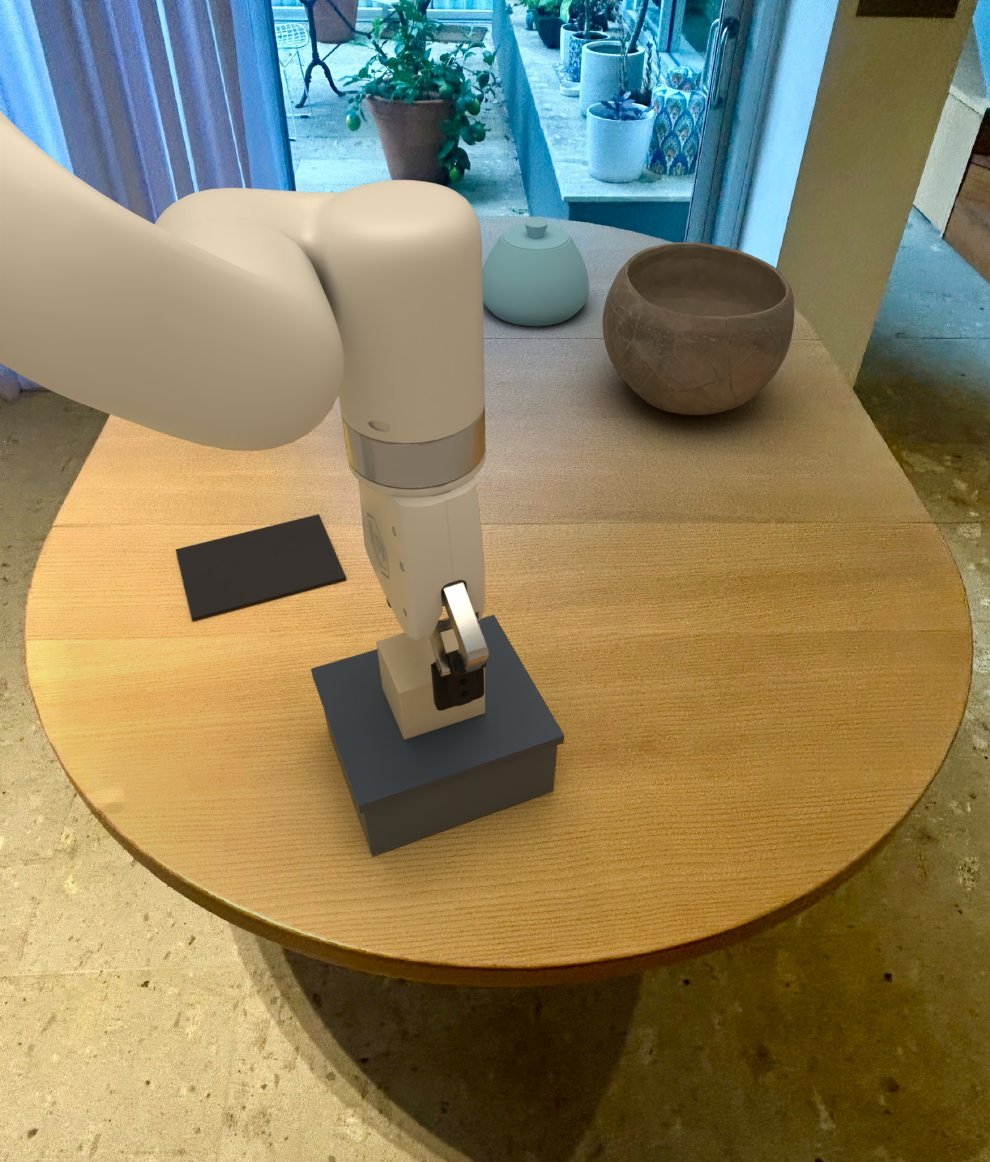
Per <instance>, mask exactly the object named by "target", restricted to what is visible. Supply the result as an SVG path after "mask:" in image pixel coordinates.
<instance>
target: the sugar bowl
mask: <svg viewBox="0 0 990 1162" xmlns="http://www.w3.org/2000/svg"><path fill="white" fill-rule="evenodd" d="M482 279H483V305H485V307H486V308H487V310H488V311H490V312H491V313H492V315H494V316H495V317H496V318H498V319H500V320H502V321H504V322H507V323H509V324H513V325H517V326H526V327H544V326H546V327H547V326H552V325H557V324H560V323H563V322H566V321H568V320H570V319H571V318H572V317H574V316H575V315H576V314H577V313H578V312H579V311H580V310H581V309H582V308H583V307H584V306H585V304H586V303H587V301H588V298H589V296H590V282H589V281H590V280H589V275H588V270H587V267H586V263H585V261H584V258H583V256H582V254H581V252H580V250H579V248H578V246H577V245H576V243H575V241H574V239H573V238H572V236H571V235H570V234H569V233H568V231H566V230H565V229H563V228H562V227H559V226H557V225H553V224H549V222H548V220H547V219H544V218H541V217H532V218H528V219H526V220H525V221H524V223H519V224H516V225H513V226H511V227H508V228H507V229H505V230H504V231H503V232H502V234H501V235H500V236H499V238H498V239H497V240H496V242H495V244H494V245H493V247H492V248H491V250H490V251H489V253H488V255H487V257H486V259H485V261H484V263H483V265H482Z"/></svg>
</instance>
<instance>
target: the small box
mask: <svg viewBox="0 0 990 1162" xmlns="http://www.w3.org/2000/svg"><path fill="white" fill-rule="evenodd" d="M441 636H442V639H443V643H444V647H445V650H446V653H449V652H452V651H455V650H458V642H457V639H456V636H455V633H454V630H453V629H451V630H447V631H444V632H441ZM376 649H377V650H378V658H379V665H380V673H381V681H382V688H383V691H384V693H385V695H386V698H387V700H388V703H389V705H390V707H391V710H392V712H393V715H394V717H395V719H396V722H397V724H398V726H399V729H400V731H401V734H402V736H403V738H404V740H405V739H408V738H411V737H414V736H418V735H421V734H424V733H427V732H430V731H433V730H436V729H439V728H442V727H445V726H448V725H451V724H454V723H457V722H460V721H463V720H466V719H469V718H472V717H476V716H479V715H482V714H484V713H485V667H484V695H483V696H482V697H481V698H479V699H476V700H473V701H471V702H470V703H468V704H465V705H461V706H455V707H452V708H449V709H446V710H442V711H439V710H437V708H436V706H435V704H434V697H433V686H432V674H431V664H433V663H434V662H436V661H435V657H434V654H433V650H432V646H431V643H430V639H429V637H428V638H424V639H420V640H417V641H416V640H413V639H411V638H410V637H408V636H407V635H406V634H405V633H404V632H402V633H399V634H396V635H393V636H389V637H386V638H381V639H379V640H377V641H376Z"/></svg>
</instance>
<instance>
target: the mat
mask: <svg viewBox="0 0 990 1162" xmlns="http://www.w3.org/2000/svg"><path fill="white" fill-rule="evenodd" d="M175 553H176V557H177V561H178V566H179V571H180V574H181V578H182V582H183V583H182V584H183V588H184V591H185V595H186V601H187V605H188V608H189V613H190V617H191V621H192V622H196V621H199V620H203V619H206V618H210V617H214V616H218V615H221V614H225V613H229V612H232V611H233V612H234V611H236V610H240V609H243V608H247V607H251V606H254V605H255V606H256V605H259V604H262V603H266V602H269V601H273V600H276V599H281V598H284V597H288V596H292V595H295V594H300V593H304V592H307V591H310V590H315V589H317V588H321V587H322V588H323V587H325V586H329V585H333V584H336V583H340V582H344V581H346V580H347V576H346V574H345V571H344V568H343V567H342V564H341V563H340V560H339V557H338V555H337V553H336V549H335V548H334V546H333V544H332V541H331V538H330V537H329V534H328V532H327V529H326V528H325V525H324V523H323V520H322V518H321V516H320V514H318V513H317V514H313V515H309V516H305V517H301V518H297V519H293V520H289V521H285V522H281V523H277V524H273V525H269V526H265V527H261V528H257V529H252V530H248V531H245V532H239V533H237V534H232V535H228V536H224V537H219V538H216V539H212V540H208V541H204V542H200V543H196V544H191V545H187V546H183V547H178V548H176V549H175Z"/></svg>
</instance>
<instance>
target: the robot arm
mask: <svg viewBox="0 0 990 1162" xmlns="http://www.w3.org/2000/svg"><path fill="white" fill-rule="evenodd" d="M482 241H483V240H482V230H481V224H480V221H479V218H478V215H477V213H476V210H475V209H474V207H473V206H472V205H471V203H470V202H469V200H468V199H467V198H465V197H464V196H463V195H462V194H460V193H458V192H457V191H456V190H454V189H452V188H450V187H448V186H444V185H442V184H438V183H435V182H429V181H423V180H415V179H414V180H413V179H392V180H391V179H390V180H379V181H375V182H369V183H364V184H361V185H358V186H354V187H352V188H349V189H347V190H344V191H336V192H335V191H327V192H326V191H321V192H320V191H297V190H282V189H281V190H280V189H267V188H266V189H265V188H249V187H247V188H246V187H221V188H220V187H219V188H210V189H205V190H201V191H195V192H193V193H189V194H188V195H185V196H184V197H182V198H180V199H178V200H176V201H174V202H173V203H171V204H170V205H168V206H167V208H165V210H163V212H162V213H161V214H160V215H159V216H158V218H157V220H156V221H155V222H154V223H153V222H151V221H149V220H147V219H146V218H144V217H142V216H140V215H138V214H136V213H134V212H133V211H131V210H129V209H127V208H126V207H124V206H123V205H121V204H120V203H118V202H116V201H114V200H113V199H112V198H110V197H108V196H106V195H105V194H103V193H101V191H98V190H97V189H95V187H92V186H91V185H89V183H87V182H85V181H84V180H82V179H81V178H79V177H78V176H76V175H75V174H74V173H72V172H71V171H70V170H68V169H67V168H66V167H65V166H63V165H62V164H61V163H59V162H58V161H56V160H55V159H54V158H53V157H51V156H50V155H49V154H48V153H47V152H45V151H44V150H43V149H42V148H41V147H39V146H38V145H37V144H36V143H35V142H34V141H33V140H32V139H30V137H28V136H27V135H26V134H25V133H24V132H23V131H22V130H21V129H20V128H19V127H17V126H16V124H14V123H13V122H12V120H10V119H9V118H8V116H6V115H5V113H3V112H2V111H1V110H0V364H1V365H2V366H4V367H6V368H8V369H10V370H11V371H13V372H15V373H16V374H18V375H20V376H22V377H23V378H25V379H27V380H29V381H30V382H32V383H35V384H37V385H39V386H41V387H43V388H45V389H47V390H49V391H51V392H53V393H56V394H58V395H60V396H63V397H65V398H67V399H68V400H72V401H74V402H76V403H78V404H82V405H84V406H87V407H90V408H91V409H92V408H93V409H95V410H98V411H99V412H103V413H105V414H108V415H111V416H114V417H116V418H118V419H122V420H125V421H127V422H130V423H133V424H136V425H139V426H141V427H144V428H146V429H149V430H153V431H155V432H158V433H161V434H163V435H167V436H170V437H173V438H176V439H179V440H183V441H187V442H191V443H193V444H197V445H199V446H200V445H201V446H204V447H211V448H216V449H222V450H228V451H237V452H238V451H242V452H243V451H244V452H258V451H267V450H274V449H276V448H280V447H283V446H286V445H290V444H292V443H295V442H296V441H299V440H300V439H302V438H304V437H306V436H307V435H309V434H310V433H311V432H312V431H314V430H315V429H316V428H317V427H318V426H319V425H321V423H323V421H324V420H325V419H326V417H327V416H328V415H329V414H330V412H331V411H332V409H334V406H335V404H336V401H337V399H338V402H339V408H340V415H341V416H340V417H341V422H342V423H341V424H342V429H343V436H344V442H345V449H346V455H347V461H348V468H349V471H350V472H351V475H353V477H354V478H355V479H356V480H357V481H358V489H359V491H358V492H359V501H360V512H361V523H362V533H363V534H362V535H363V542H364V543H363V544H364V547H365V551H366V554H367V558H368V560H369V563H370V564H371V567H372V569H373V571H374V573H375V577H376V578H377V580H378V582H379V584H380V586H381V589H382V592H383V594H384V595H385V598H386V603H387V605H388V607H389V608H390V609H391V610H392V612H393V614H394V616H395V618H396V621H397V622H398V624H399V627H400V628H401V630H402V633H405V634H406V635H407V636H408V637H410V638H411V639H413V640H416V641H417V640H420V639H424V638H428V637H429V639H430V643H431V646H432V650H433V654H434V657H435V661H436V662H434V663H433V664H431V674H432V686H433V697H434V704H435V706H436V708H437V710H439V711H442V710H446V709H449V708H452V707H455V706H461V705H465V704H468V703H470V702H471V701H473V700H476V699H479V698H481V697H482V696H483V695H484V667H486V661H488V658H489V651H488V647H487V644H486V642H485V639H484V636H483V634H482V631H481V628H480V626H479V623H478V622H479V621H480V619H481V618H483V616H484V613H485V608H486V568H485V555H484V554H485V553H484V552H485V551H484V542H483V541H484V540H483V530H482V522H481V513H480V512H481V511H480V510H481V508H480V505H479V498H478V491H477V483H476V478H475V477H476V476H477V475H478V474H479V472H480V471H481V470H482V468H483V466H484V464H485V461H486V458H487V450H486V449H487V445H486V391H485V389H486V388H485V384H486V383H485V341H484V335H485V334H484V332H485V331H484V303H483V279H482V269H483V242H482ZM443 607H444V608H445V611H446V614H447V617H445V618H441V617H442V613H443ZM440 618H441V619H440ZM451 629H453V630H454V633H455V636H456V639H457V642H458V650H455V651H452V652H449V653H446V650H445V647H444V643H443V639H442V636H441V632H444V631H447V630H451Z"/></svg>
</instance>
